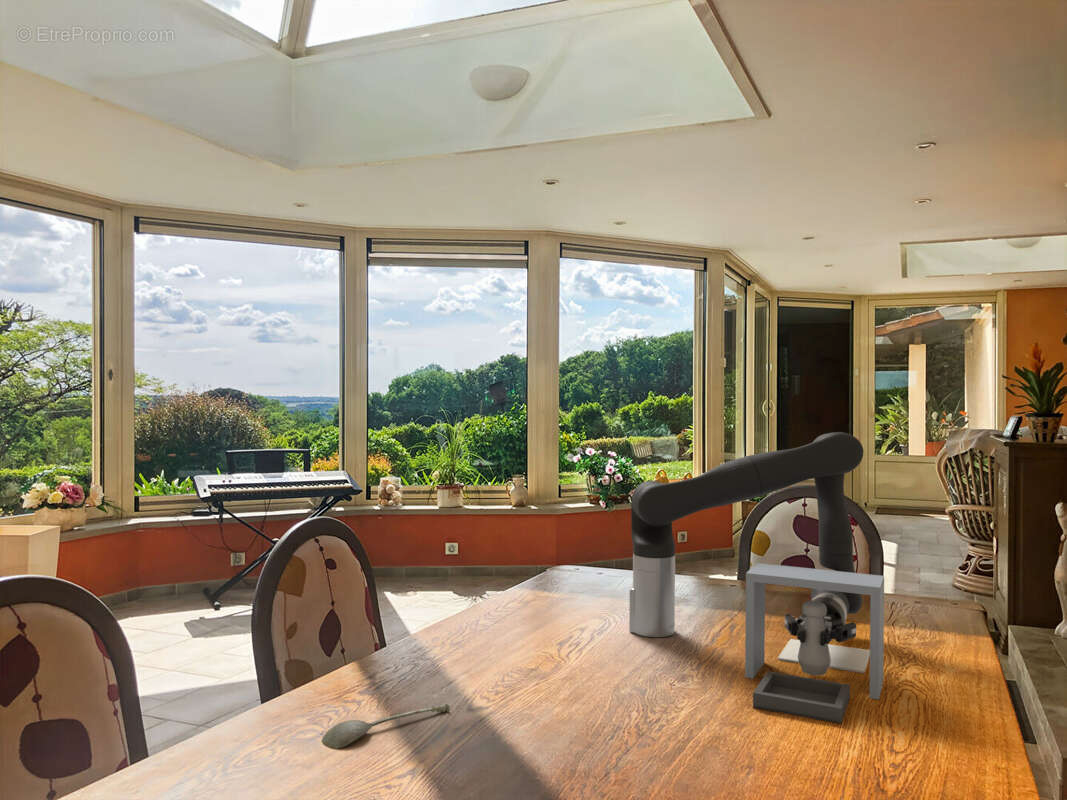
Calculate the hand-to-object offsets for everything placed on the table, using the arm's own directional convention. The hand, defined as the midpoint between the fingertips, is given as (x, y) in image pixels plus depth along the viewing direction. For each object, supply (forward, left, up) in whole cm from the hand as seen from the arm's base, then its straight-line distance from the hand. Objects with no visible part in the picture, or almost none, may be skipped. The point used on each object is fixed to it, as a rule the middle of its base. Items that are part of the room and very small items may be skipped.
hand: (812, 638), depth 147 cm
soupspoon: (-56, -52, -9) cm, 77 cm away
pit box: (0, -11, -8) cm, 14 cm away
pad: (0, +17, -8) cm, 19 cm away
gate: (0, +2, -8) cm, 8 cm away
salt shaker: (0, +3, -7) cm, 8 cm away
